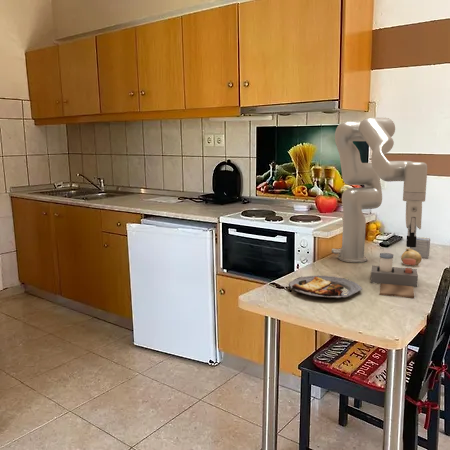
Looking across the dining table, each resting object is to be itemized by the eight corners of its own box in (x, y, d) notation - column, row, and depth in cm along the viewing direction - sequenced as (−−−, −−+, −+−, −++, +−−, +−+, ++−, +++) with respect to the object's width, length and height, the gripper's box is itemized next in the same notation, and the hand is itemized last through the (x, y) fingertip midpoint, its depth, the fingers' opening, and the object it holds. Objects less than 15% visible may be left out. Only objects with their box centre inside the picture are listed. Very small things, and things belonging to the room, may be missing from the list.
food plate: (335, 307, 148) (336, 296, 148) (275, 292, 164) (276, 282, 163) (371, 290, 166) (371, 281, 166) (314, 278, 182) (314, 269, 181)
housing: (370, 282, 174) (371, 272, 173) (371, 275, 183) (372, 265, 183) (417, 286, 169) (417, 276, 168) (415, 279, 178) (416, 269, 177)
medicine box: (429, 256, 212) (430, 238, 211) (427, 258, 209) (428, 239, 207) (410, 254, 216) (412, 236, 215) (408, 256, 213) (410, 237, 211)
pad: (379, 294, 160) (379, 292, 160) (380, 285, 171) (380, 283, 170) (414, 298, 157) (414, 296, 157) (412, 288, 167) (413, 286, 167)
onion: (417, 262, 202) (418, 246, 201) (423, 267, 195) (424, 251, 193) (398, 262, 203) (399, 246, 202) (403, 267, 195) (404, 250, 194)
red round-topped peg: (401, 278, 173) (403, 260, 172) (401, 274, 177) (402, 257, 176) (414, 279, 171) (416, 261, 170) (414, 275, 175) (415, 258, 174)
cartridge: (378, 281, 176) (379, 255, 174) (378, 277, 180) (380, 252, 178) (391, 282, 174) (393, 256, 172) (391, 279, 179) (393, 253, 177)
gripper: (426, 199, 160) (423, 251, 164) (424, 195, 174) (420, 243, 177) (403, 198, 163) (400, 250, 166) (402, 194, 177) (399, 242, 180)
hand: (410, 246), depth 172 cm, fingers closed
